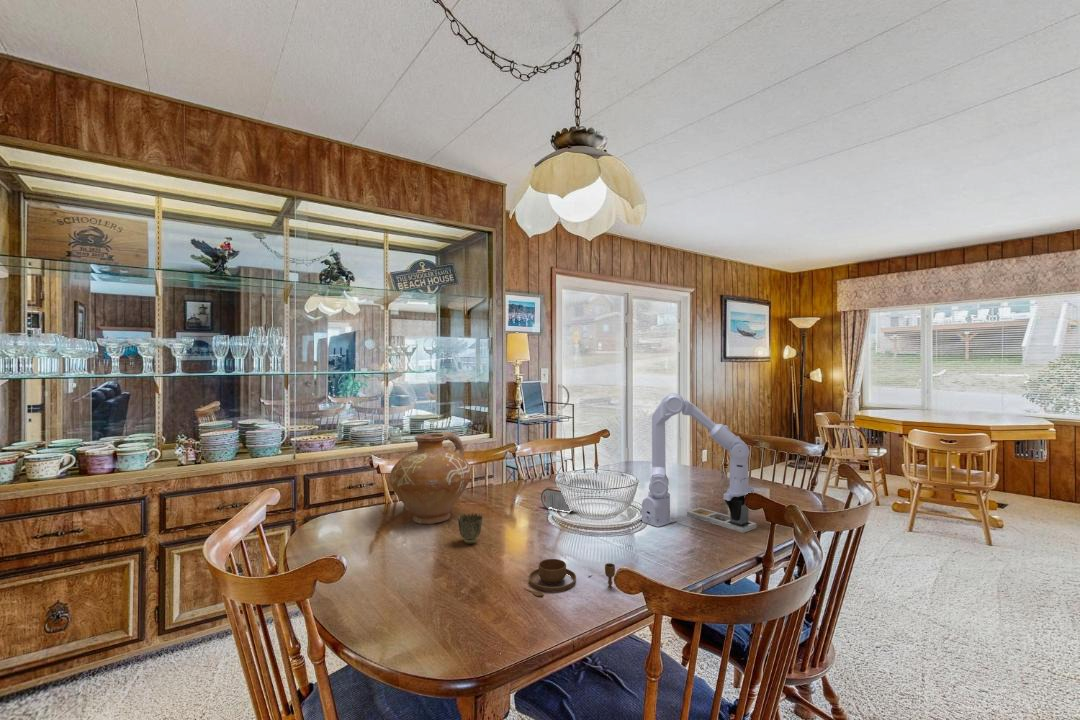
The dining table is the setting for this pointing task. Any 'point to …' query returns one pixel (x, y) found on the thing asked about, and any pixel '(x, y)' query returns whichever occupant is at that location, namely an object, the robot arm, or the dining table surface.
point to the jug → (431, 477)
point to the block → (741, 517)
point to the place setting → (559, 575)
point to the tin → (554, 499)
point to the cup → (470, 527)
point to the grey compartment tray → (710, 515)
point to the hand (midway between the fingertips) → (739, 518)
